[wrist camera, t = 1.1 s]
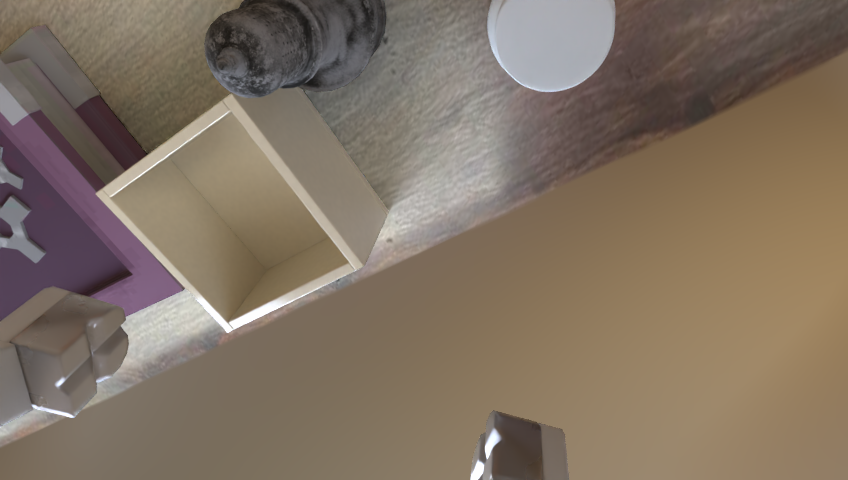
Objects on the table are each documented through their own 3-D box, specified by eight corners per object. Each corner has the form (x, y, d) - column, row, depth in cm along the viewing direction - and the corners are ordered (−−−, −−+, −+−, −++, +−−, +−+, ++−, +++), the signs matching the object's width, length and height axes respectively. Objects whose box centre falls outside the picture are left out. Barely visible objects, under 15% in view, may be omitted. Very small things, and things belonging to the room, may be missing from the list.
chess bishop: (374, -67, 24) (269, -64, 14) (404, 62, 27) (335, 142, 17) (262, -35, 26) (93, -13, 15) (301, 83, 28) (180, 169, 18)
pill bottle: (607, 33, 25) (643, 74, 18) (512, 71, 26) (510, 123, 19) (579, -73, 23) (607, -75, 16) (478, -25, 24) (462, -7, 17)
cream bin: (283, 62, 28) (231, 92, 23) (389, 211, 32) (364, 266, 26) (162, 151, 32) (94, 193, 27) (269, 274, 36) (227, 333, 30)
